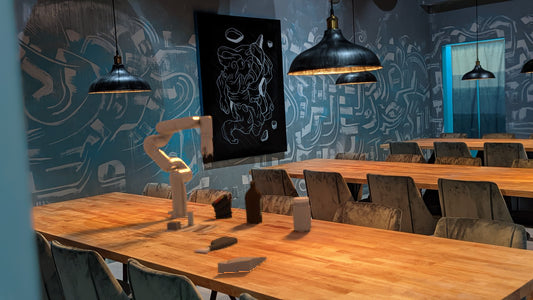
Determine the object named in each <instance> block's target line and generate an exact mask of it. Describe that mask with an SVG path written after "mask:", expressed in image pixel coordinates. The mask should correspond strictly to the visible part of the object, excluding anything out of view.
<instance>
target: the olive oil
mask: <svg viewBox="0 0 533 300" xmlns="http://www.w3.org/2000/svg"><path fill="white" fill-rule="evenodd" d="M244 205H245V206H244V207H245V215H246V218H245V219H246V223H247V224H253V225H254V224H255V225H256V224H257V225H258V224H261V223H263V195H262V192H261V191H260V190H259V189H258V188H257V187H256V181H255V180H250V181H249V188H248V190H247V191H246V192H245V193H244Z"/></svg>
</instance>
